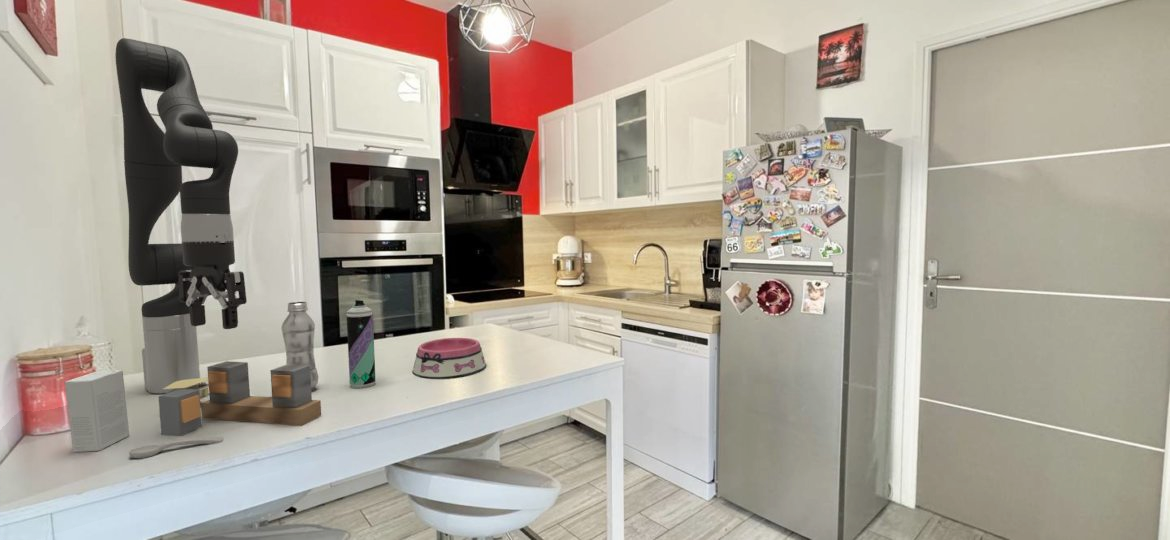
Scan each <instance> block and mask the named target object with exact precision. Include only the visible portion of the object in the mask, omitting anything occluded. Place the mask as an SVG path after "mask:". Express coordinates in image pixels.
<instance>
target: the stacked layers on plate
mask: <svg viewBox="0 0 1170 540" xmlns="http://www.w3.org/2000/svg"><path fill="white" fill-rule="evenodd" d="M206 381H207V383H206ZM195 384H196V385H195ZM174 388H175V389H174ZM164 389H173V390H171V391H170V392H173V391H176V390H179V389H193V390H199V394H200V401H202V400H204V399H208V398H209V384H208V377H200V378H196V379H187V380H180V381H176V382H174V383H172V384H171V385H169V386H167V387H165V388H164ZM168 393H169V392H168Z"/></svg>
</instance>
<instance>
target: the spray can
mask: <svg viewBox="0 0 1170 540" xmlns="http://www.w3.org/2000/svg"><path fill="white" fill-rule="evenodd" d="M372 311H373V309H372V308H370V307H368V306H367V304H365V303H364V300H363V299H355V301H354V304H353V305H352V307H351V308H349V309H348V310H347V311H346V329H347V330H346V331H347V332H346V333H347V349H348V350H347V351H348V355H347V356H348V373H349V374H348V375H349V377H348V378H349V387H350V388H351V389H364V388H365V389H366V388H370V387H372V386H374V385H376V363H375V362H376V361H375V360H376V359H375V357H376V355H375V339H374V338H375V335H374V314H373V312H372Z"/></svg>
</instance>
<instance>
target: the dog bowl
mask: <svg viewBox="0 0 1170 540" xmlns="http://www.w3.org/2000/svg"><path fill="white" fill-rule="evenodd" d="M482 349H483V348H482V347H481V343H480V342H479V341H478V340H477V339H474V338H469V337H445V338H440V339H439V338H438V339H433V340H428V341H425V342H423V343H421V344H419V345H418V347H417V351H416V354H415V355H416V356H415V360H414V365H413V368H412V371H411V373H412V374H413V376H415V377H418V378H421V379H428V380H450V379H452V380H453V379H459V378H464V377H468V376H469V377H470V376H472V375H476V374H478V373H480V372H482V371H484V370H485V369H486V367H487V363H486V360H485V355H484V353H483V350H482Z"/></svg>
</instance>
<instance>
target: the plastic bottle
mask: <svg viewBox="0 0 1170 540" xmlns="http://www.w3.org/2000/svg"><path fill="white" fill-rule="evenodd" d="M307 311H309V310H308V303H307V301H292V302H288V303H287V311H286V312H288V315H287V316H286V318H285V319H284V320H283V322H282V323H281V324H282V325H281V332H282V338H283V342H284V347H285V348H284V349H285V357H286V364H285V365H287V364H290V365H310V376H311V390H313V389H315V388H316V386H317V385H318V383H319V374H318V369H317V366H316V359H315V354H314V353H315V352H314V351H315V350H314V342H315V341H314V340H315V331H316V330H315V329H316V324H315V322H314V320H313V318H312V317H311V316H310V315H309V314H308V313H307Z"/></svg>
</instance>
